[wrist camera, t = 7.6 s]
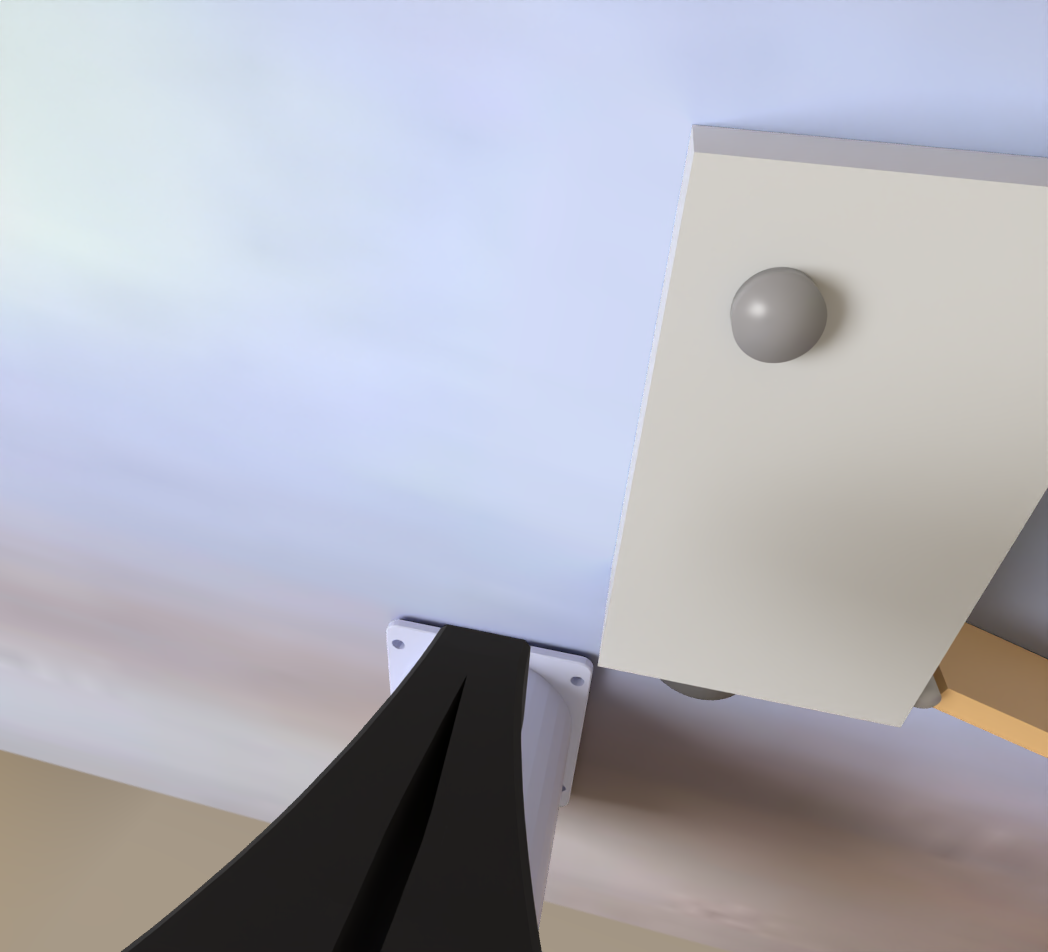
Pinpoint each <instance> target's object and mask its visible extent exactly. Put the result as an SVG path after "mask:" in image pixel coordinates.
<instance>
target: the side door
mask: <svg viewBox="0 0 1048 952" xmlns="http://www.w3.org/2000/svg"><path fill="white" fill-rule="evenodd" d="M914 707H917V708H931V707H933V708H936V709H938V710H940V711H942V712H945V713H947V714H949V715H951V716H954V717H956V718H958V719H960V720H963V721H965V722H967V723H969V724H972V725H974V726H976V727H979V728H981V729H983V730H985V731H988V732H990V733H992V734H994V735H997V736H999V737H1001V738H1003V739H1006V740H1008V741H1010V742H1012V743H1015V744H1017V745H1019V746H1021V747H1024V748H1026V749H1028V750H1030V751H1033V752H1035V753H1037V754H1040V755H1042V756H1044V757H1046V758H1048V659H1046V658H1044V657H1041V656H1039V655H1037V654H1035V653H1033V652H1030V651H1028V650H1026V649H1024V648H1021V647H1019V646H1017V645H1015V644H1013V643H1010V642H1008V641H1006V640H1004V639H1002V638H999V637H997V636H995V635H993V634H990V633H988V632H986V631H984V630H982V629H979V628H977V627H975V626H973V625H970V624H968V623H966V622H965V623H964V625H963V626H962V628H961V630H960V631H959V633H958V635H957V636H956V638H955V639H954V641H953V643H952V644H951V646H950V648H949V649H948V651H947V652H946V654H945V656H944V657H943V659H942V661H941V662H940V664H939V665H938V667H937V669H936V670H935V672H934V674H933V675H932V677H931V679H930V680H929V682H928V683H927V685H926V687H925V688H924V690H923V692H922V693H921V695H920V696H919V698H918V700H917V701H916V703H915V705H914Z"/></svg>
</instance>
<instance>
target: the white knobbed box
mask: <svg viewBox="0 0 1048 952" xmlns="http://www.w3.org/2000/svg"><path fill="white" fill-rule="evenodd" d="M1047 488H1048V158H1044V157H1034V156H1023V155H1012V154H1002V153H991V152H980V151H970V150H959V149H948V148H937V147H927V146H916V145H905V144H895V143H884V142H873V141H862V140H852V139H841V138H830V137H820V136H809V135H798V134H787V133H777V132H766V131H755V130H745V129H734V128H723V127H712V126H702V125H692V129H691V134H690V139H689V145H688V150H687V156H686V161H685V167H684V172H683V178H682V183H681V189H680V194H679V200H678V205H677V211H676V216H675V222H674V227H673V233H672V238H671V244H670V249H669V255H668V260H667V266H666V271H665V277H664V282H663V287H662V293H661V298H660V304H659V309H658V315H657V320H656V326H655V331H654V337H653V342H652V348H651V353H650V359H649V364H648V370H647V375H646V381H645V386H644V392H643V397H642V403H641V408H640V414H639V419H638V425H637V430H636V436H635V441H634V446H633V452H632V457H631V463H630V468H629V474H628V479H627V485H626V490H625V496H624V501H623V507H622V512H621V518H620V523H619V529H618V534H617V540H616V545H615V551H614V556H613V562H612V568H611V576H610V583H609V590H608V597H607V604H606V611H605V618H604V625H603V632H602V639H601V646H600V653H599V660H598V666H600V667H605V668H610V669H614V670H619V671H624V672H629V673H634V674H639V675H644V676H649V677H654V678H659V679H660V680H662V681H663V682H664V683H665V684H666V685H668V686H669V687H670V688H672V689H674V690H675V691H677V692H679V693H682V694H684V695H687V696H689V697H693V698H697V699H703V700H720V699H725V698H728V697H731V696H733V695H735V694H738V695H743V696H748V697H752V698H757V699H762V700H767V701H772V702H777V703H782V704H787V705H792V706H797V707H802V708H807V709H812V710H816V711H821V712H826V713H831V714H836V715H841V716H846V717H851V718H856V719H861V720H866V721H871V722H876V723H881V724H885V725H890V726H895V727H901V726H902V724H903V723H904V721H905V719H906V718H907V716H908V714H909V713H910V711H911V709H912V708H913V706H914V705H915V703H916V701H917V700H918V698H919V696H920V695H921V693H922V692H923V690H924V688H925V687H926V685H927V683H928V682H929V680H930V679H931V677H932V675H933V674H934V672H935V670H936V669H937V667H938V665H939V664H940V662H941V661H942V659H943V657H944V656H945V654H946V652H947V651H948V649H949V648H950V646H951V644H952V643H953V641H954V639H955V638H956V636H957V635H958V633H959V631H960V630H961V628H962V626H963V625H964V623H965V622H966V620H967V618H968V617H969V615H970V613H971V612H972V610H973V608H974V607H975V605H976V604H977V602H978V600H979V599H980V597H981V595H982V594H983V592H984V591H985V589H986V587H987V586H988V584H989V582H990V581H991V579H992V578H993V576H994V574H995V573H996V571H997V569H998V568H999V566H1000V564H1001V563H1002V561H1003V560H1004V558H1005V556H1006V555H1007V553H1008V551H1009V550H1010V548H1011V547H1012V545H1013V543H1014V542H1015V540H1016V538H1017V537H1018V535H1019V534H1020V532H1021V530H1022V529H1023V527H1024V525H1025V524H1026V522H1027V520H1028V519H1029V517H1030V516H1031V514H1032V512H1033V511H1034V509H1035V507H1036V506H1037V504H1038V503H1039V501H1040V499H1041V498H1042V496H1043V494H1044V493H1045V491H1046V490H1047Z"/></svg>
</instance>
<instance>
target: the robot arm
mask: <svg viewBox="0 0 1048 952" xmlns="http://www.w3.org/2000/svg"><path fill="white" fill-rule="evenodd" d="M386 638H387V652H388V665H389V679H390V692H391V696H390V697H389V698H388V699H387V700H386V702H385V703H384V704H383V705H382V706H381V707H380V709H379V710H378V711H377V712H376V713H375V714H374V716H373V717H372V718H371V719H370V720H369V721H368V723H367V724H366V725H365V726H364V727H363V728H362V730H361V731H360V732H359V733H358V734H357V735H356V737H355V738H354V739H353V740H352V741H351V742H350V743H349V744H348V745H347V747H346V748H345V749H344V750H343V751H342V752H341V753H340V754H339V755H338V756H337V757H336V758H335V759H334V760H333V761H332V763H331V764H330V765H329V766H328V767H327V768H326V769H325V770H324V771H323V772H322V773H321V774H320V775H319V776H318V777H317V778H316V779H315V780H314V782H313V783H312V784H311V785H310V786H309V787H308V788H307V789H306V790H305V791H304V792H303V793H302V794H301V795H300V796H299V797H298V798H297V799H296V800H295V801H294V802H293V803H292V804H291V805H290V806H289V807H288V808H287V809H286V810H285V811H284V812H283V813H282V814H281V815H280V816H279V817H278V818H277V819H276V820H275V821H273V822H272V823H271V824H270V825H269V826H268V827H267V828H266V829H265V830H264V831H263V832H262V833H261V834H260V835H259V836H257V837H256V838H255V839H254V840H253V841H252V842H251V843H250V844H249V845H248V846H247V847H246V848H245V849H243V851H241V852H240V853H239V854H238V855H237V856H236V857H235V858H234V859H233V860H231V861H230V862H229V863H228V864H227V865H226V866H224V867H223V868H222V869H221V870H220V871H219V872H217V873H216V874H215V875H214V876H213V877H212V878H211V879H209V880H208V881H207V882H206V883H205V884H204V885H202V886H201V887H200V888H199V889H198V890H197V891H196V892H194V893H193V894H192V895H191V896H190V897H189V898H187V899H186V900H185V901H184V902H183V903H181V904H180V905H179V906H178V907H177V908H176V909H174V910H173V911H172V912H171V913H169V914H168V915H167V916H166V917H164V918H163V919H162V920H161V921H160V922H158V923H157V924H156V925H155V926H153V927H152V928H151V929H150V930H148V931H147V932H146V933H144V934H143V935H142V936H141V937H139V938H138V939H137V940H135V941H134V942H133V943H132V944H130V945H129V946H128V947H126V948H125V949H124V950H123V951H121V952H542V951H541V945H540V939H539V932H538V930H539V924H540V917H541V912H542V905H543V900H544V894H545V888H546V882H547V876H548V870H549V864H550V858H551V852H552V846H553V840H554V834H555V828H556V822H557V816H558V810H559V807H563V806H566V805H568V803H569V799H570V794H571V788H572V783H573V777H574V772H575V766H576V761H577V755H578V750H579V744H580V739H581V734H582V728H583V723H584V717H585V712H586V706H587V701H588V695H589V690H590V684H591V679H592V673H593V664H592V662H591V661H590V660H589V659H587V658H586V657H583V656H579V655H574V654H569V653H564V652H559V651H554V650H549V649H544V648H539V647H534V646H529V644H528V643H527V642H526V641H525V640H521V639H516V638H512V637H507V636H502V635H497V634H492V633H487V632H482V631H477V630H472V629H467V628H462V627H457V626H453V625H446V626H444V627H442V628H440V627H435V626H430V625H425V624H420V623H415V622H410V621H405V620H397V619H396V620H393V621H391V622H390V623H389V625H388V627H387V630H386ZM577 677H580V678H577Z"/></svg>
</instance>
